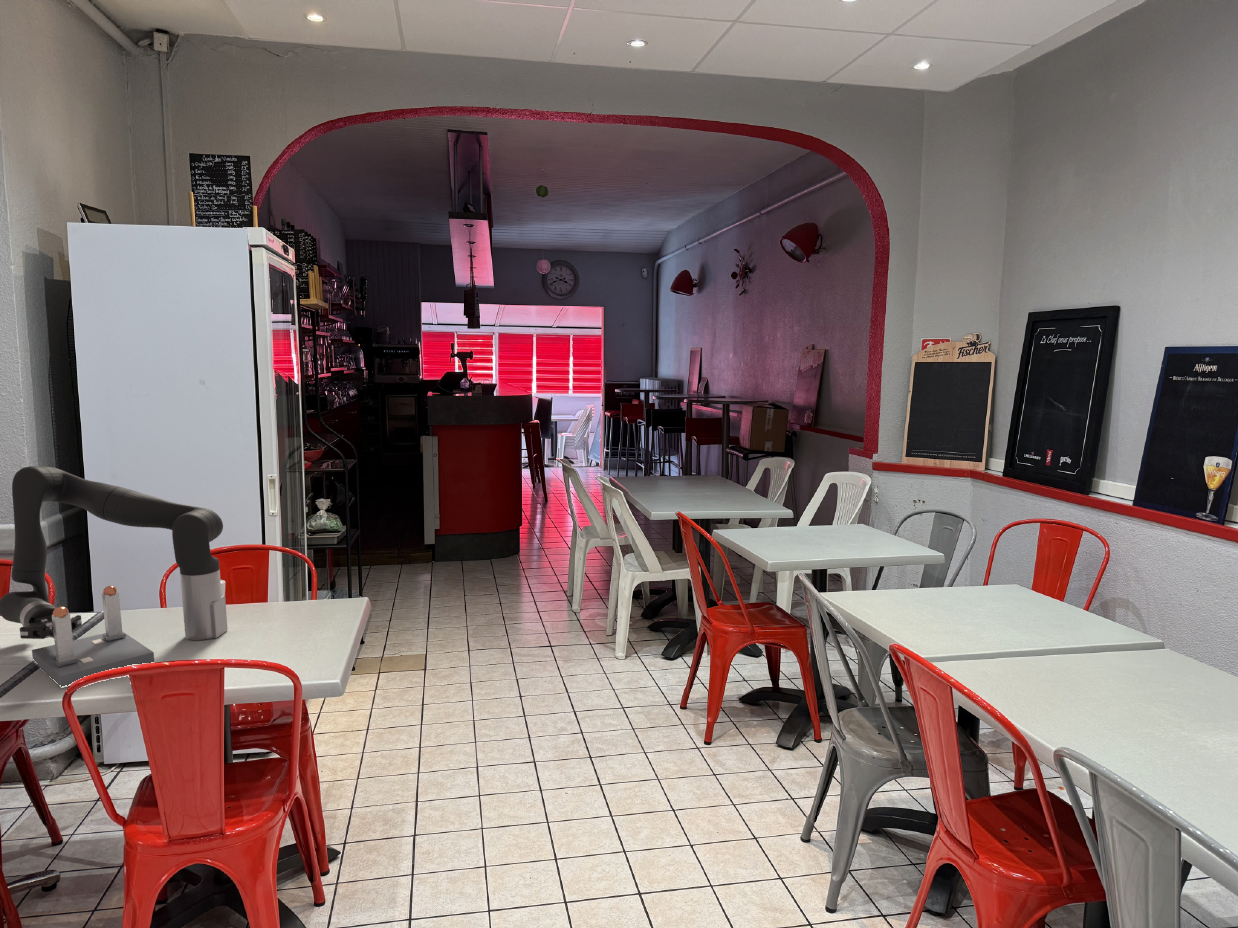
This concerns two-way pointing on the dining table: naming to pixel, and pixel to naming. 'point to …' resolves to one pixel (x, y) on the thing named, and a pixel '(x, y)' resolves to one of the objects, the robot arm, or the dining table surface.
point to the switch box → (93, 657)
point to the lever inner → (112, 614)
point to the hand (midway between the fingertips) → (62, 634)
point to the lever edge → (63, 637)
